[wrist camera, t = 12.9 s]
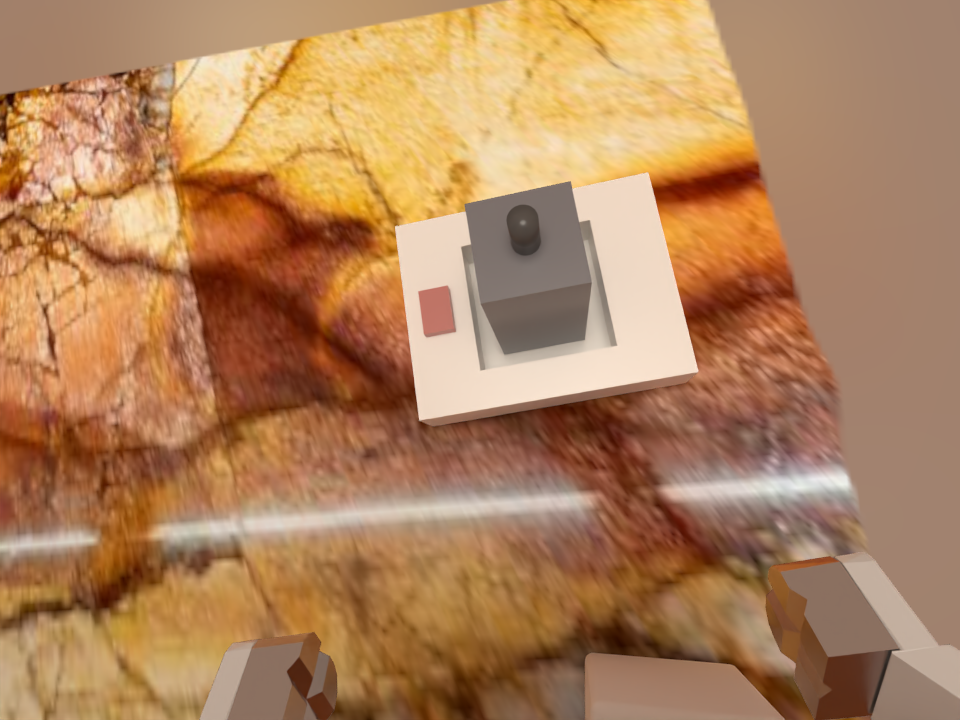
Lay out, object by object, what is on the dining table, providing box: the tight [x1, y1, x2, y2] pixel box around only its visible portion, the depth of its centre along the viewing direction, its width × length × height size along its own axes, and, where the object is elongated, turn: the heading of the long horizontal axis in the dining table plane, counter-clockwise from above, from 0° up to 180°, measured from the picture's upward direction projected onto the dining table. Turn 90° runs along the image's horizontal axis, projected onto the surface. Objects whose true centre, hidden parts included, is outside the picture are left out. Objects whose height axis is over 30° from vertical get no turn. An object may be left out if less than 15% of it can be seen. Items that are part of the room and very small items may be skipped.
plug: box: [465, 181, 592, 355], centre depth 26 cm, size 4×4×11 cm
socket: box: [395, 173, 698, 427], centre depth 31 cm, size 14×11×4 cm
